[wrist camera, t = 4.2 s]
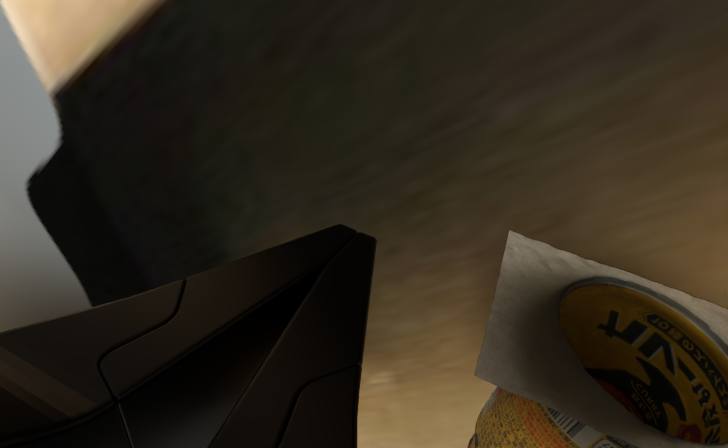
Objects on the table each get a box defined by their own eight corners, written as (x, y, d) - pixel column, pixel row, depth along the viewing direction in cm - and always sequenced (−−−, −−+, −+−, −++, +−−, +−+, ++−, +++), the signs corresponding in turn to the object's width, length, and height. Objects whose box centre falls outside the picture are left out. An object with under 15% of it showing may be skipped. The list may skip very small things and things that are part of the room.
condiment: (738, 310, 15) (580, 447, 23) (510, 226, 17) (435, 379, 24) (829, 527, 10) (581, 612, 17) (477, 369, 11) (394, 508, 19)
